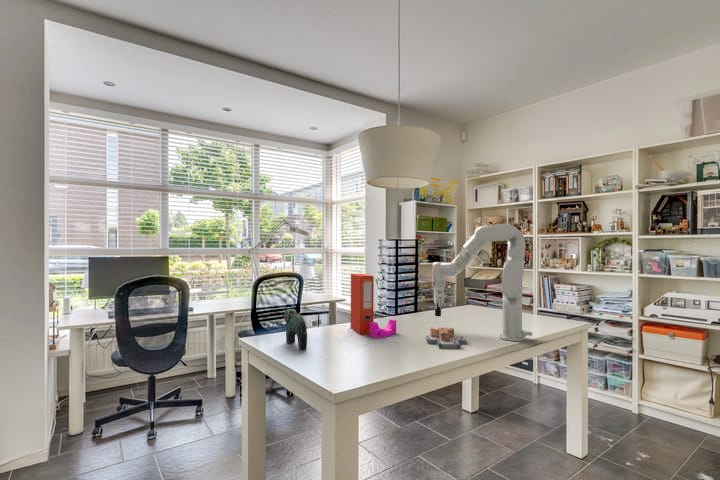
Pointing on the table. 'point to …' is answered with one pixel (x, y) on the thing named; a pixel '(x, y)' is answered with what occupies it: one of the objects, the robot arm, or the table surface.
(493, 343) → the table surface
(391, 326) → the toy block
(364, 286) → the file binder
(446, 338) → the T block
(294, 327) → the dark green animal figurine
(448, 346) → the T outline
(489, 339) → the table surface
